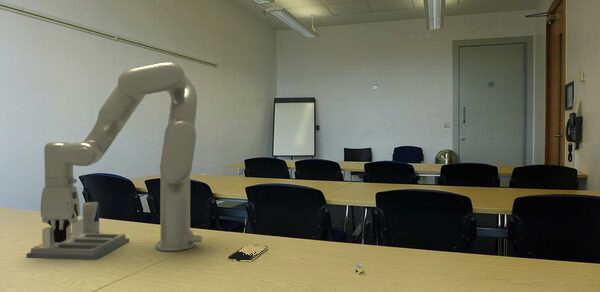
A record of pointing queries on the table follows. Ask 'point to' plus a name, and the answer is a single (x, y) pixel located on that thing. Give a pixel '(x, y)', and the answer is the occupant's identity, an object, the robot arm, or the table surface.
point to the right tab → (78, 229)
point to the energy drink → (91, 217)
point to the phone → (243, 257)
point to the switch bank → (81, 247)
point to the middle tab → (69, 235)
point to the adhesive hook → (358, 265)
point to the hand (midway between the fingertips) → (60, 241)
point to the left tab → (48, 238)
